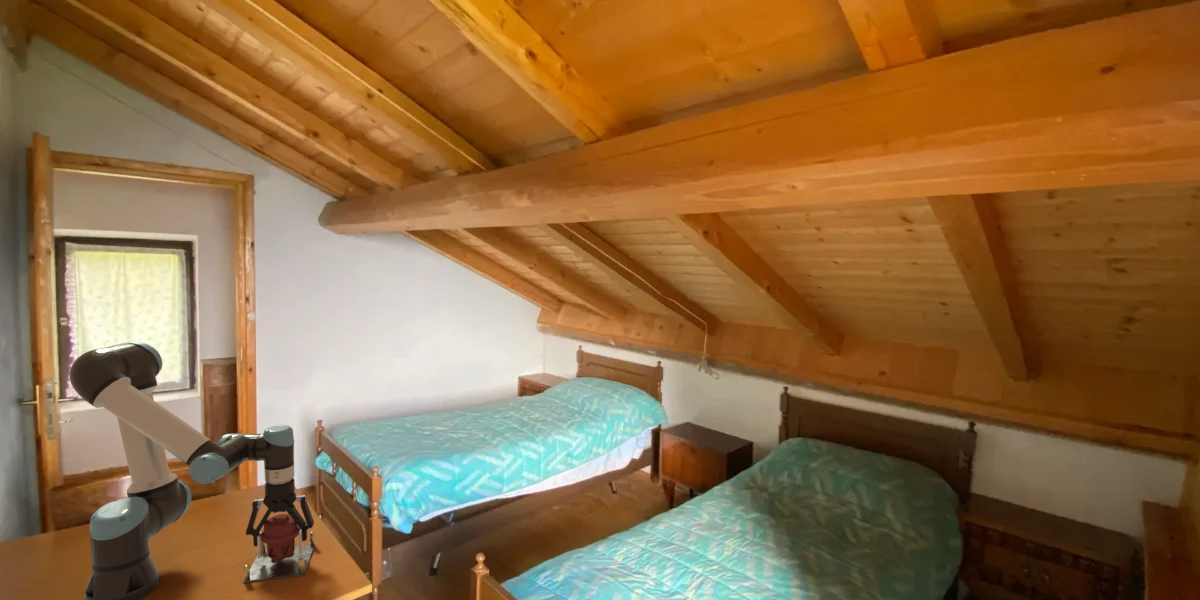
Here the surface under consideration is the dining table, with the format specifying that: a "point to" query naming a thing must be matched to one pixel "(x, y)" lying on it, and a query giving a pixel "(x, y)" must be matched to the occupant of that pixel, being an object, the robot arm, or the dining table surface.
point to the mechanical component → (280, 536)
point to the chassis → (280, 564)
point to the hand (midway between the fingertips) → (281, 553)
